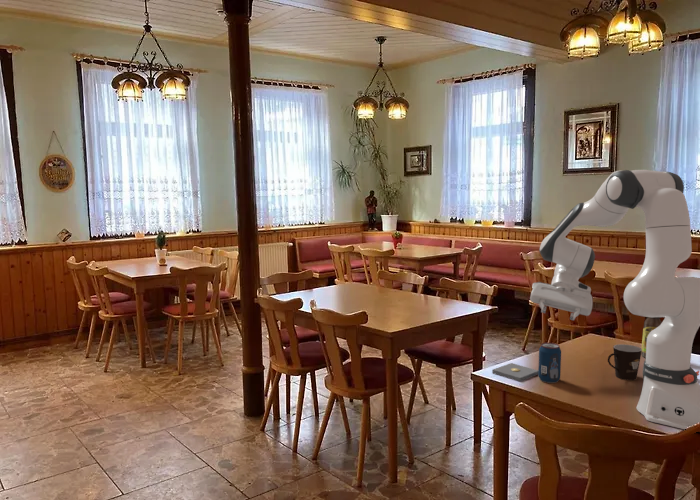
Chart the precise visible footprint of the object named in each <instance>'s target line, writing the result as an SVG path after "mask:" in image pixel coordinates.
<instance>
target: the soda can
mask: <svg viewBox="0 0 700 500" xmlns="http://www.w3.org/2000/svg"><path fill="white" fill-rule="evenodd" d="M561 364H562V349H561V348H560V344H558V343H555V342H554V343H553V342H543V343H541V344H540V347H539V348H538V369H537V370H538V375H537V376H538V378H539V380H540V381H541V382H544V383H546V382H547V383H548V384H556V383H558V382H559V380H560V379H561V372H562V371H561V370H562V369H561V367H562V365H561ZM547 383H546V384H547Z"/></svg>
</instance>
